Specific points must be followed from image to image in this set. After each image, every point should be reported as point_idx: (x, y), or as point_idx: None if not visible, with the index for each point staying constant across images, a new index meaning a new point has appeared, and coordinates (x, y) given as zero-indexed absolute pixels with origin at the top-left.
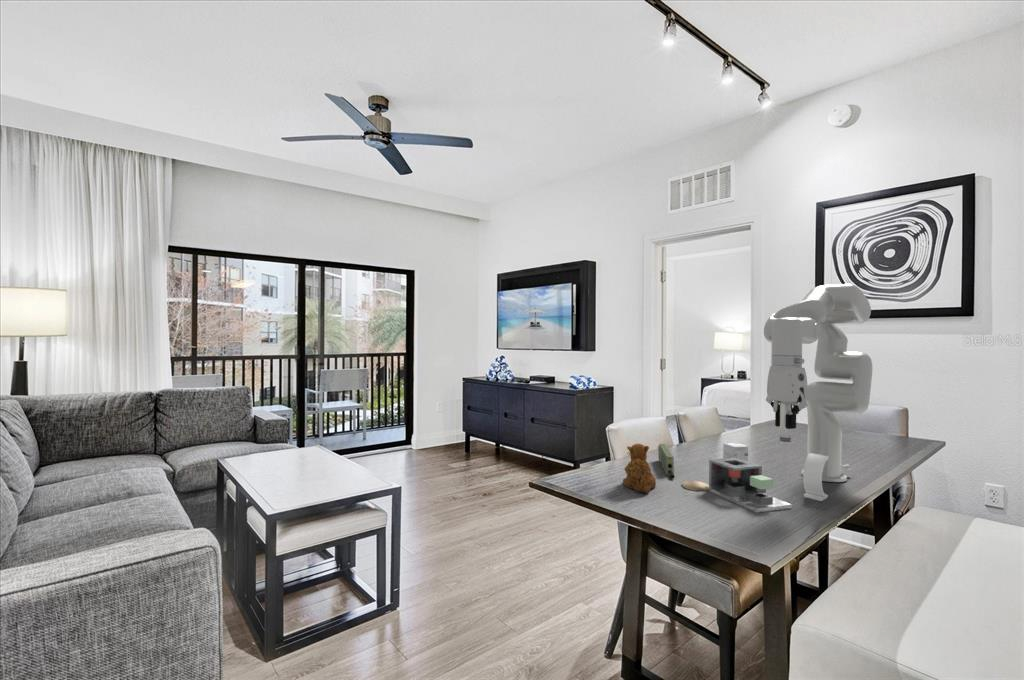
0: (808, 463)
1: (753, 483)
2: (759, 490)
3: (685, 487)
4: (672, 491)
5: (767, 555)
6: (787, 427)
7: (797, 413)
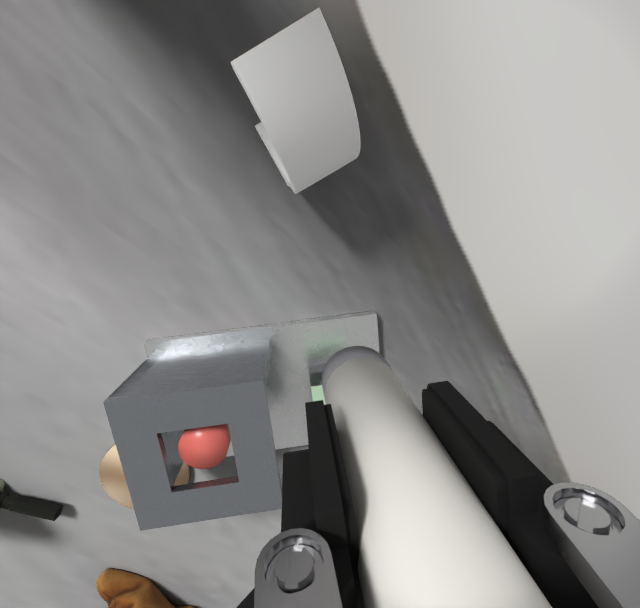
0: (297, 155)
1: None
2: None
3: None
4: (186, 547)
5: None
6: None
7: (601, 510)
